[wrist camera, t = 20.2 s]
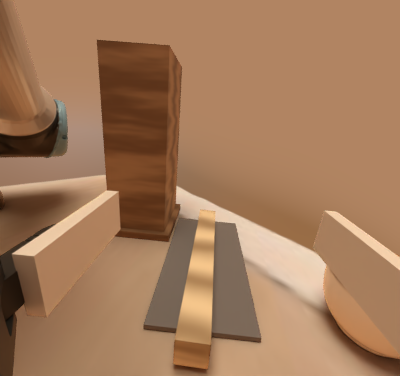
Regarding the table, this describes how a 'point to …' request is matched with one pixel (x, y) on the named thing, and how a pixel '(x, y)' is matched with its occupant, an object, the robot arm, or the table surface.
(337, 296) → the lidded jar
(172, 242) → the rubber mat
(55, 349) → the table surface
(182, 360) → the maple bar
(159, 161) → the walnut pedestal
